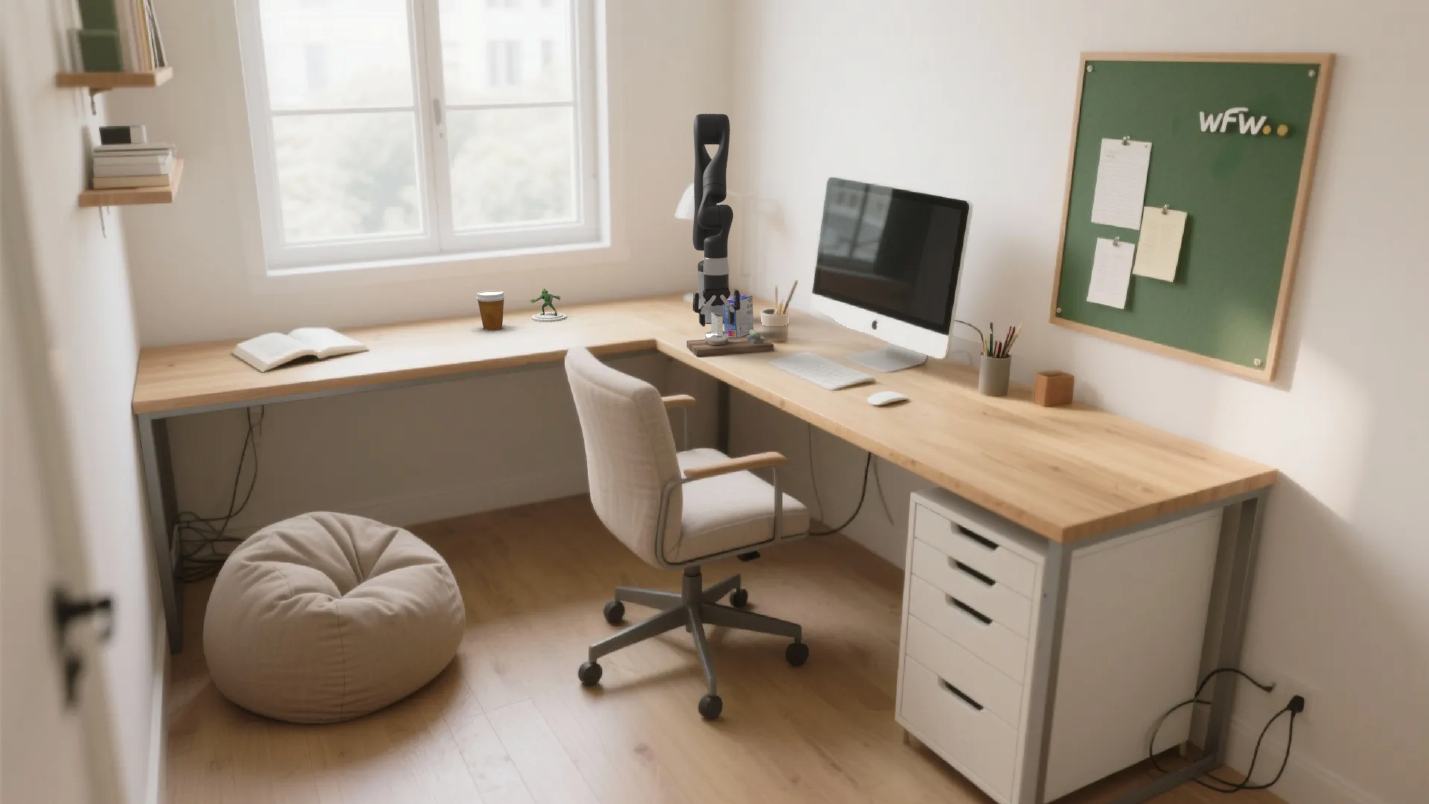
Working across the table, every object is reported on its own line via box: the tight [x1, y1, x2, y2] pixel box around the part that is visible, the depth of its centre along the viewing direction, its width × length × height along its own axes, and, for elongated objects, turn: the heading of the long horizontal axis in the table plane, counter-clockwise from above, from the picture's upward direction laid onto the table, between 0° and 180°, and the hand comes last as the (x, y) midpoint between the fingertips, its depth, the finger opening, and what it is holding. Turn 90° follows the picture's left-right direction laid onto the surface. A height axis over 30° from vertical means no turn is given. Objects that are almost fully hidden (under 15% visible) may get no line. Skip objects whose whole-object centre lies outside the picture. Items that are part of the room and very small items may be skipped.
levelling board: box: [686, 329, 775, 358], centre depth 339 cm, size 13×24×5 cm, turn 105°
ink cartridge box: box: [723, 288, 755, 338], centre depth 357 cm, size 10×6×14 cm, turn 144°
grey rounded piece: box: [704, 312, 729, 346], centre depth 337 cm, size 7×7×9 cm
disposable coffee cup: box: [475, 290, 506, 331], centre depth 372 cm, size 10×10×12 cm
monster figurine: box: [529, 287, 567, 323], centre depth 386 cm, size 12×12×10 cm
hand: (716, 325), depth 337 cm, fingers open, 8 cm apart
